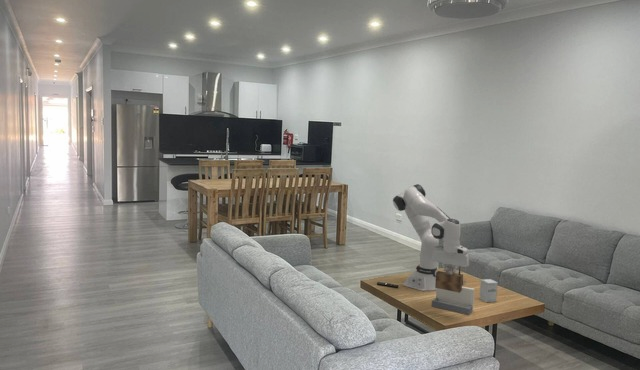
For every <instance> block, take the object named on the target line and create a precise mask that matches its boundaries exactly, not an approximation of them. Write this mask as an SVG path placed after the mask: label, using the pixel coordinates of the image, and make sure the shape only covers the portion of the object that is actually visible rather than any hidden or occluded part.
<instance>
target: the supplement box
mask: <svg viewBox="0 0 640 370" xmlns="http://www.w3.org/2000/svg"><path fill="white" fill-rule="evenodd" d="M498 284H499V283H498V281H495V280H493V279H490V278H489V279H487V278H485V279H481V280H480V289H479V299H480V300H481V301H483V302H485V303H496V302H497V295H498Z"/></svg>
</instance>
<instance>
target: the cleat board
mask: <svg viewBox="0 0 640 370" xmlns="http://www.w3.org/2000/svg"><path fill="white" fill-rule="evenodd" d="M475 291H476V290H475V288H473V287H467V286H462V291H461V292H460V293H458V292H454V291H449V290H444V289H439V288H437V289H436V290H435V298H434V299H432V300H431V307H433V308H436V309H437V308H438V309H441V310H445V309H446V310H445V311H450V312H455V313H459V314H464V315H468V316H470V315H471V314H472V312H473V311H474V306H475V305H474V304H475V302H474V301H475Z"/></svg>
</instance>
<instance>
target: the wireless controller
mask: <svg viewBox="0 0 640 370" xmlns="http://www.w3.org/2000/svg"><path fill="white" fill-rule="evenodd" d="M458 269H459V270H458V273H456V272H455V273H453V274H458V275H463V276H464V274H463V273H461V266H458ZM463 283H464V278H463V279H462V286H463ZM463 287H464V286H463Z"/></svg>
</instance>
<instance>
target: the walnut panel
mask: <svg viewBox="0 0 640 370" xmlns="http://www.w3.org/2000/svg"><path fill="white" fill-rule="evenodd" d="M445 267H446V271H443V270H442V271H440V270H437V272H436V283H435V288H439V289H444V290H449V291H454V292H458V293H460V292H461V291H462V279H463V280H464V274H463V275H458V274H459V273H457V274H453V273H452V270H453V269H455V266H452V265H447V266H445Z"/></svg>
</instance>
